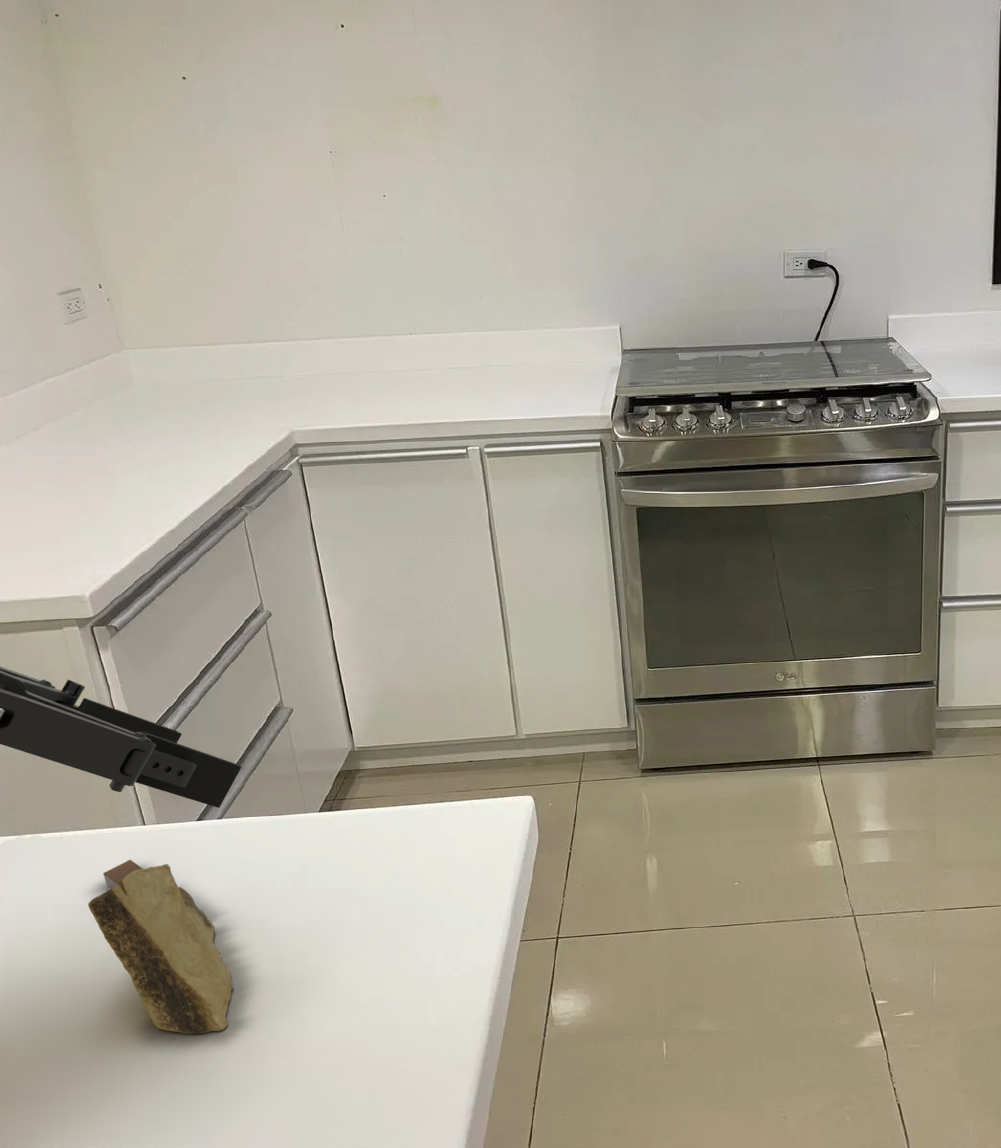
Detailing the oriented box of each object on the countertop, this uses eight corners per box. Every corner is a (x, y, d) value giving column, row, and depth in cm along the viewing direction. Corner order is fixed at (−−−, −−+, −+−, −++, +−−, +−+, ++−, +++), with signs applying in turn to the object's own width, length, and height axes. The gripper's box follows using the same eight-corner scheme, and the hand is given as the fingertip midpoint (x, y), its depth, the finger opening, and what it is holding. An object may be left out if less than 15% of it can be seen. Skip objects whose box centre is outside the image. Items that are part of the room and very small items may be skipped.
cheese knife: (104, 887, 83) (99, 874, 82) (137, 870, 85) (133, 857, 84) (170, 938, 77) (165, 924, 77) (203, 919, 79) (199, 905, 78)
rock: (141, 897, 78) (37, 982, 68) (195, 807, 76) (96, 882, 66) (273, 982, 78) (188, 1079, 69) (330, 896, 76) (252, 983, 67)
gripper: (-318, 652, 58) (95, 776, 76) (-205, 762, 47) (249, 878, 65) (-229, 525, 60) (153, 676, 78) (-100, 601, 48) (313, 757, 66)
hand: (196, 767), depth 71 cm, fingers open, 7 cm apart
